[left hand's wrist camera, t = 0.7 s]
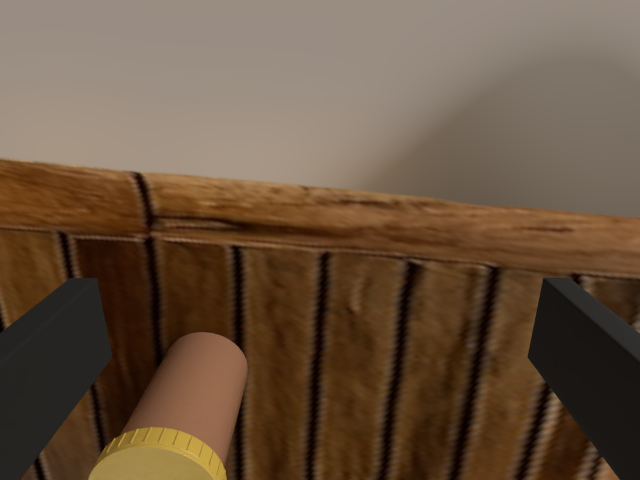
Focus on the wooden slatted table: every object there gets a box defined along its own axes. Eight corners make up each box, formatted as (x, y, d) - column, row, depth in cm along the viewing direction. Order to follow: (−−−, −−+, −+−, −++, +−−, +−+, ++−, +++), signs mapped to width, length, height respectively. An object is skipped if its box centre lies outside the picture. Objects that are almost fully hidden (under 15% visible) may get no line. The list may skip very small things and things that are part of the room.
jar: (265, 368, 47) (241, 493, 33) (211, 414, 49) (166, 550, 35) (201, 316, 45) (145, 426, 30) (147, 367, 47) (72, 492, 33)
